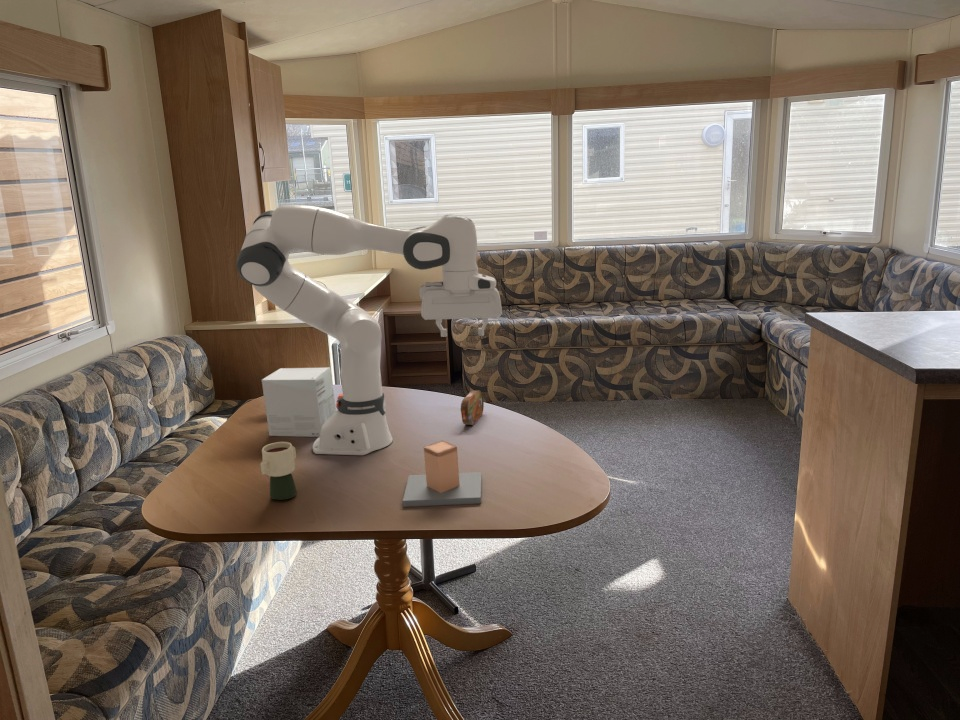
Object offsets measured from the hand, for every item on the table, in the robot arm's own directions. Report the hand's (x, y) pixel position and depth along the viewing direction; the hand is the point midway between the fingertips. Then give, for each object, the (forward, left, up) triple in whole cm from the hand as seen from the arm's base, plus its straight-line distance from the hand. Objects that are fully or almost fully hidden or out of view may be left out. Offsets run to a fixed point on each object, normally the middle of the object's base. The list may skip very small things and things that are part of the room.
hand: (462, 335), depth 178 cm
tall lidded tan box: (-6, -19, -32) cm, 38 cm away
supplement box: (-52, +29, -34) cm, 69 cm away
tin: (0, +30, -34) cm, 46 cm away
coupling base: (-6, -19, -34) cm, 39 cm away
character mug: (-45, -18, -34) cm, 59 cm away
